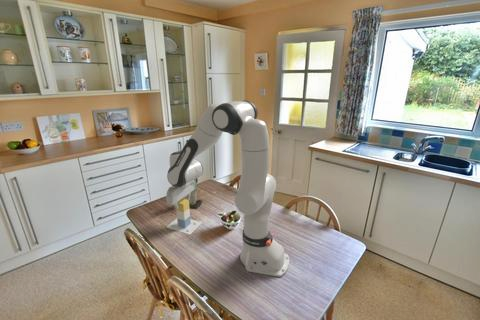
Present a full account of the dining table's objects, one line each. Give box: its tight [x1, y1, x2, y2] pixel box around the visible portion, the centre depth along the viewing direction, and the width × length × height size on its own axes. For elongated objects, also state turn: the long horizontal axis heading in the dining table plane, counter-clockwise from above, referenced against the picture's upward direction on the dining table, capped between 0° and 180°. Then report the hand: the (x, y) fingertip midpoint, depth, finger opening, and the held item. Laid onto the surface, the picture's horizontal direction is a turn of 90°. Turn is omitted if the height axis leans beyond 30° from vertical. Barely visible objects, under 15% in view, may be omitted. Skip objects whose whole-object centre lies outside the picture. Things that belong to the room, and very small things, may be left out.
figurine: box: [189, 178, 203, 210], centre depth 151 cm, size 10×10×30 cm
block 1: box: [175, 198, 190, 212], centre depth 130 cm, size 5×5×5 cm
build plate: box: [166, 218, 203, 235], centre depth 134 cm, size 16×12×1 cm
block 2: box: [175, 208, 191, 220], centre depth 131 cm, size 5×5×5 cm
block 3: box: [176, 215, 191, 228], centre depth 133 cm, size 5×5×5 cm
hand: (182, 204), depth 129 cm, fingers open, 8 cm apart
